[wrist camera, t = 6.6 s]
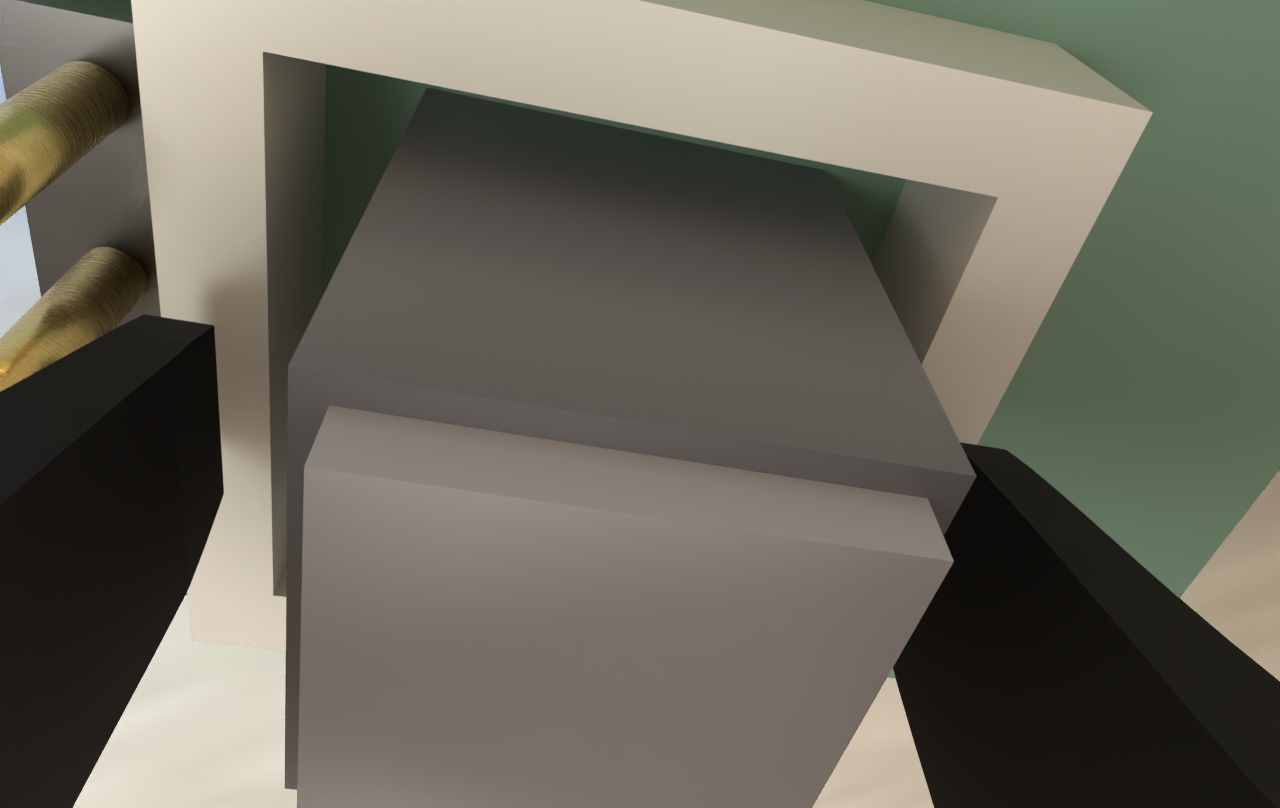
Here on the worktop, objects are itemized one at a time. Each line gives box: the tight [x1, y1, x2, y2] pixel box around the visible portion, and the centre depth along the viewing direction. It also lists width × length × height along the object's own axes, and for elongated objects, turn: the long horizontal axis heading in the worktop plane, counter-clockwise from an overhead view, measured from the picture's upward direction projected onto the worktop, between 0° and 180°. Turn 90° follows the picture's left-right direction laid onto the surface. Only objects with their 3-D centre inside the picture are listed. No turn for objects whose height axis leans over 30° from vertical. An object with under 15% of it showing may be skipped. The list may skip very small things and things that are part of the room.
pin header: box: [0, 0, 161, 392], centre depth 9 cm, size 2×6×4 cm, turn 168°
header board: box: [186, 0, 1280, 678], centre depth 11 cm, size 16×17×1 cm
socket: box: [131, 0, 1153, 651], centre depth 11 cm, size 8×8×2 cm
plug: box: [285, 88, 977, 808], centre depth 9 cm, size 4×4×6 cm
